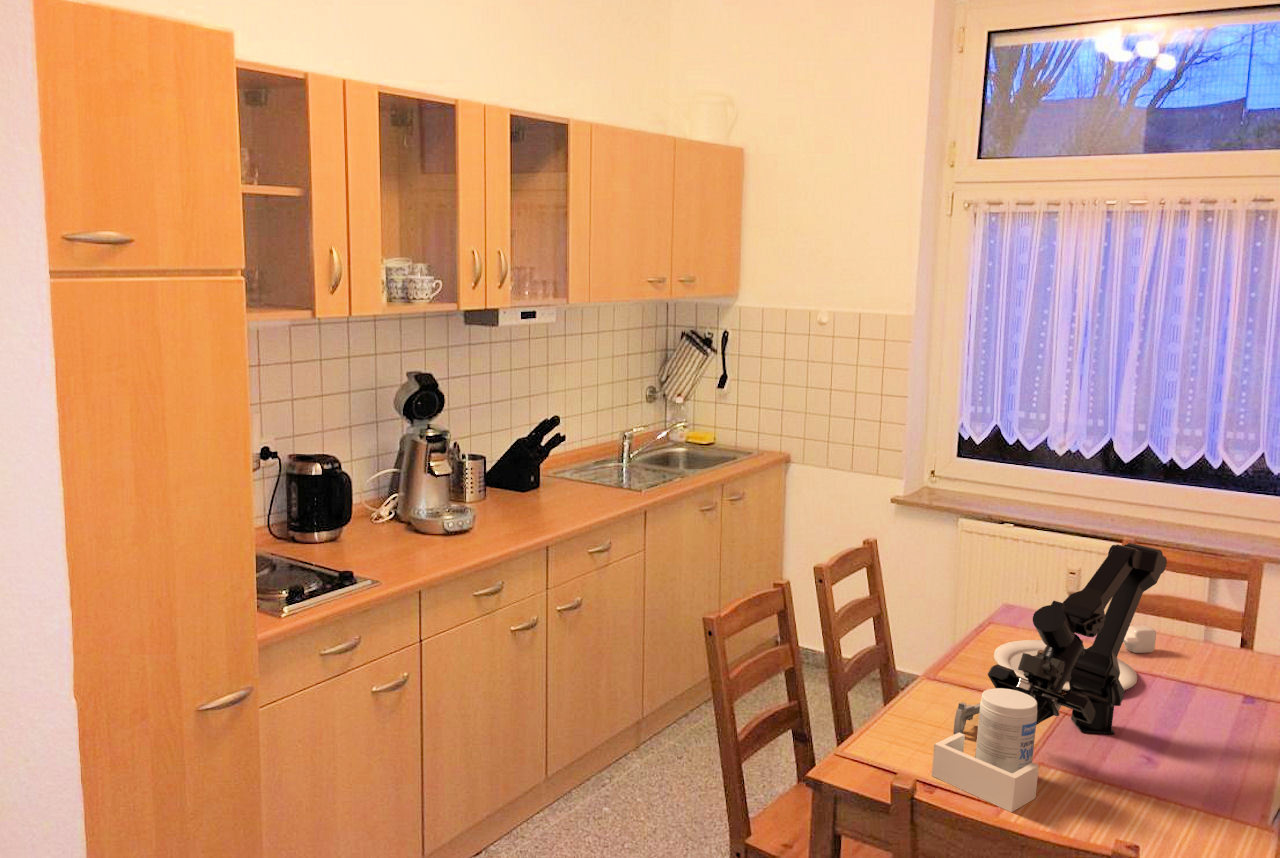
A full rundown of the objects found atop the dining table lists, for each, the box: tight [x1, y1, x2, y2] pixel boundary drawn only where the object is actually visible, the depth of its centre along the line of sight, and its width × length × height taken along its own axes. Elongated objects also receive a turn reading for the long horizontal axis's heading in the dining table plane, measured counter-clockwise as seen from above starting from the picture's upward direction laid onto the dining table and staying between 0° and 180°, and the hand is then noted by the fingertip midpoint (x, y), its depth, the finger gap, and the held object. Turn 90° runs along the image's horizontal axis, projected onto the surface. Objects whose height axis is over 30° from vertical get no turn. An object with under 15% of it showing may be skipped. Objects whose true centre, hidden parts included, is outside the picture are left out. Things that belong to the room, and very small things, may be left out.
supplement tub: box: [974, 687, 1037, 773], centre depth 187 cm, size 10×10×15 cm
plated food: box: [993, 639, 1138, 691], centre depth 238 cm, size 30×30×3 cm
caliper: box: [952, 701, 981, 735], centre depth 211 cm, size 21×1×6 cm, turn 141°
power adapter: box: [1122, 624, 1157, 654], centre depth 252 cm, size 11×5×6 cm, turn 103°
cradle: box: [931, 732, 1040, 813], centre depth 184 cm, size 8×15×6 cm, turn 41°
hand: (1019, 732), depth 190 cm, fingers closed, pressing on supplement tub
